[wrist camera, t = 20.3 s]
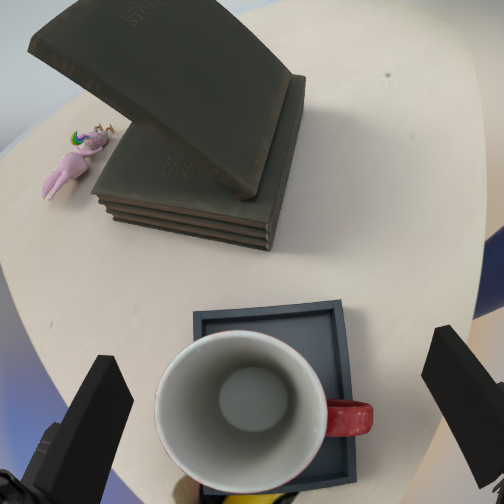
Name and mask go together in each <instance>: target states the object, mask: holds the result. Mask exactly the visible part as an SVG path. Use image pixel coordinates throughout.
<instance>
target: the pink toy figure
mask: <svg viewBox="0 0 504 504" xmlns="http://www.w3.org/2000/svg"><path fill="white" fill-rule="evenodd" d="M98 128H99V129H100V130H101V132H102V130H103V128H102V127H101V125H100V123H99V126H98V127H95V128H94V130H93V131H92V132H89V133H88V134H87V135H85V134H83V135H80V136H78V137H77V132H75V133H74V134H73V135H72V136H71V143H72V144H73V145H75V150H76V152H77V153H75V152H71V153H68V154H67V155H65V156H64V157H63V158H62V159H61V160H60V162H59V164H58V166H57V169H56V170H55V171H54V172H52V173H51V174H50V175H49V176H48V177H47V179H46V181H45V182H44V185H43V191H42V197H43V199H45V197H46V196H47V194H48V193H49V191H50V190H51V188H52V187H53V188H52V191H51V194H50V197H49V201H51V200H52V198H53V197H54V195H55V194H56V192H57V191H58V190H59V189H60V188H61V187H62V186H63V185H64V184H65V183H66V182H68V181H69V180H72V179H75V178H77V177H78V176H80V175H81V174H82V173H83V172H85V171H86V170H87V168H88V163H87V162H86V160H85V159H84V158H85V157H88V156H90V155H92V154H95V153H97V152H100V151H102V150H103V147H101V146H104V145H105V144H106V143H107V141H108V129H110V131H111V132H112V133H113V132H115V131H114V130H113V128H112V126H111V124H110V127H109V128H106V129H105V130H103V132H102V133H98V130H97V129H98ZM83 142H85V145H84V147H83V148H82V149H79V148H78V145H80V144H82V143H83ZM99 147H100V148H99ZM95 149H96V150H95Z"/></svg>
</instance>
